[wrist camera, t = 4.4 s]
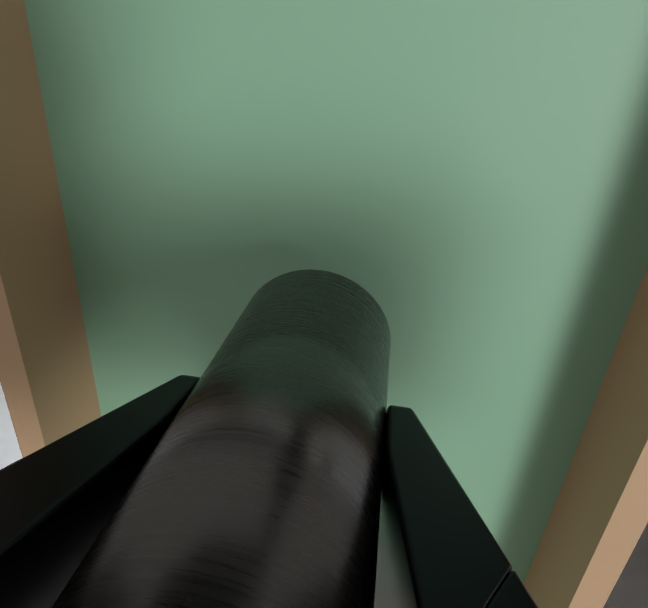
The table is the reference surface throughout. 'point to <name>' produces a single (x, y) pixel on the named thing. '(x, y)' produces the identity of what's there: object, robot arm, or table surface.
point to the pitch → (350, 227)
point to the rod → (261, 467)
